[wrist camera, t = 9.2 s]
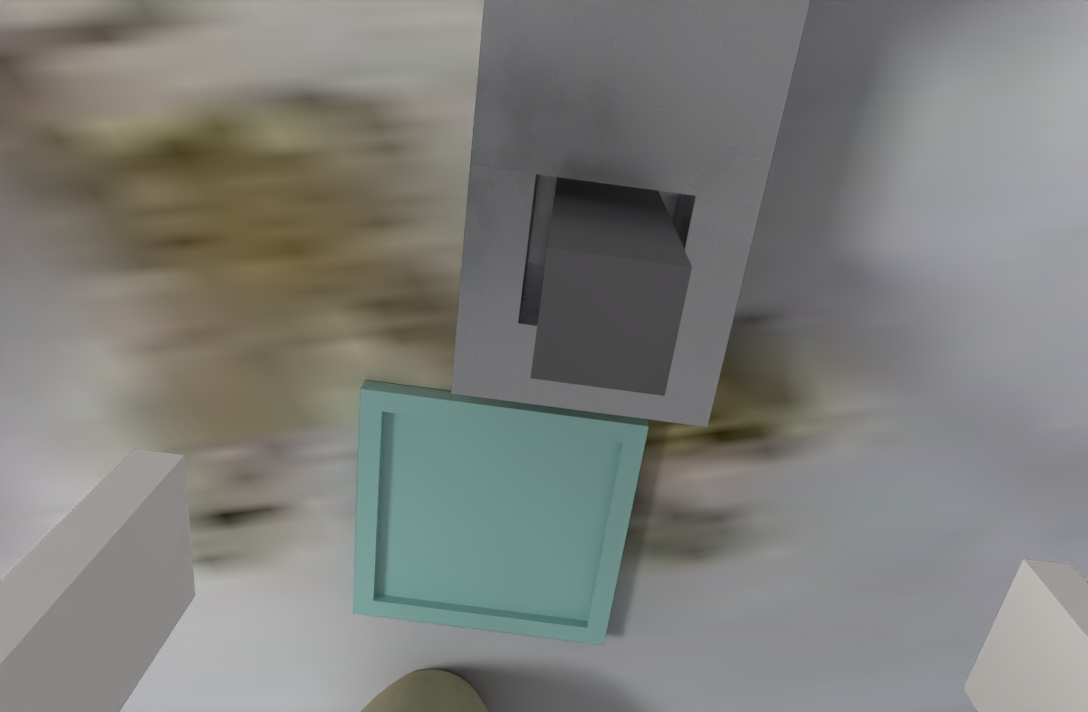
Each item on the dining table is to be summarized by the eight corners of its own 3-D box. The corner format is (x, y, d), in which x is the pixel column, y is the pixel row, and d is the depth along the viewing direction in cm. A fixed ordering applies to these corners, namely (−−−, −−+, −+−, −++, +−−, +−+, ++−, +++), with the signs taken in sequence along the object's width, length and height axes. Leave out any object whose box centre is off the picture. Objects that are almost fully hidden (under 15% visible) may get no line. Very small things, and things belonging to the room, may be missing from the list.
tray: (358, 601, 41) (353, 613, 40) (365, 380, 35) (360, 388, 35) (603, 632, 41) (603, 645, 40) (647, 417, 36) (648, 426, 35)
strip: (230, 311, 34) (85, 435, 24) (199, -392, 25) (-63, -671, 15) (690, 372, 35) (735, 519, 25) (840, -300, 25) (1018, -512, 15)
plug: (544, 273, 32) (530, 378, 23) (557, 176, 30) (547, 247, 21) (640, 286, 32) (664, 395, 23) (658, 190, 30) (692, 267, 21)
